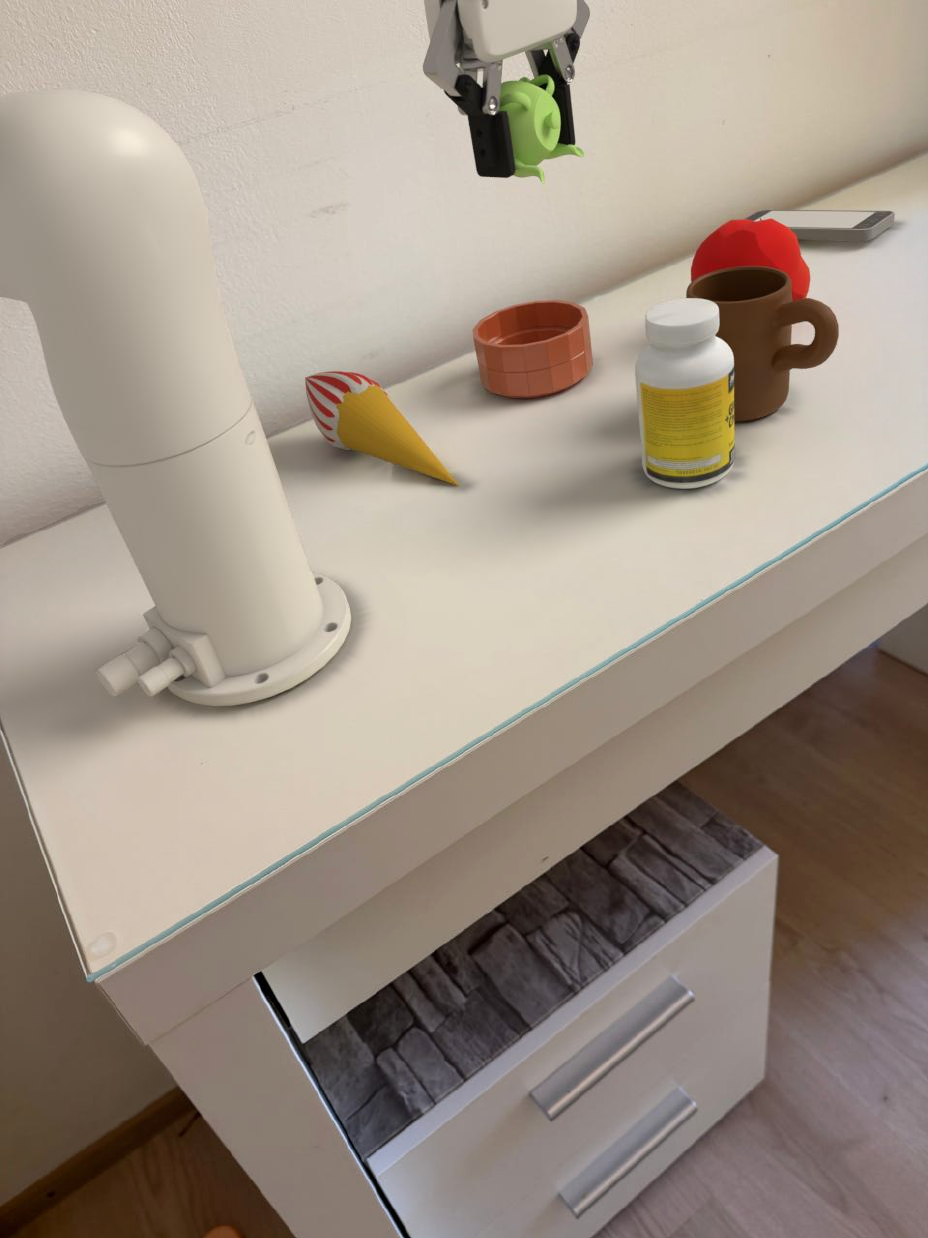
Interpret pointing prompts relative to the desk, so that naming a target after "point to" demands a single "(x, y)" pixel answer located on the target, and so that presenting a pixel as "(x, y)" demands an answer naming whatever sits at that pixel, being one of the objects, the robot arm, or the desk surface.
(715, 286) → the mug
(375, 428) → the ice cream cone
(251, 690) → the robot arm
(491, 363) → the bowl
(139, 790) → the desk surface
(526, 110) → the multi-spout teapot
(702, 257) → the tomato
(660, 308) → the pill bottle
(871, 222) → the smartphone
